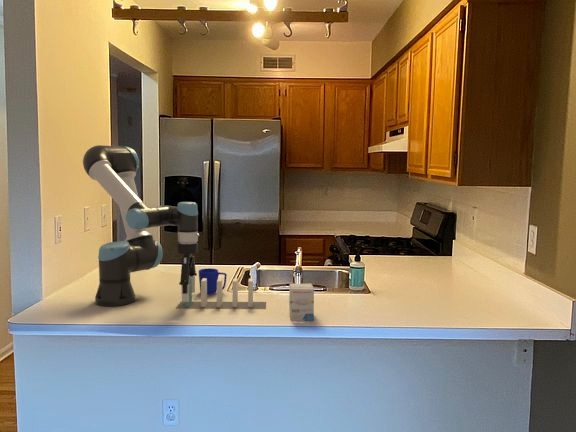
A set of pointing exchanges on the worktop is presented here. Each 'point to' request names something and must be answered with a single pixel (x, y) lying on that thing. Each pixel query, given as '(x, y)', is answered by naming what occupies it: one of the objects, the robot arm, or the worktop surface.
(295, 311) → the ink box
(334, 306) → the worktop surface
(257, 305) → the mat
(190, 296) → the green domino
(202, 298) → the domino
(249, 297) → the domino
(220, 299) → the domino
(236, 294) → the domino
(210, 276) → the mug
